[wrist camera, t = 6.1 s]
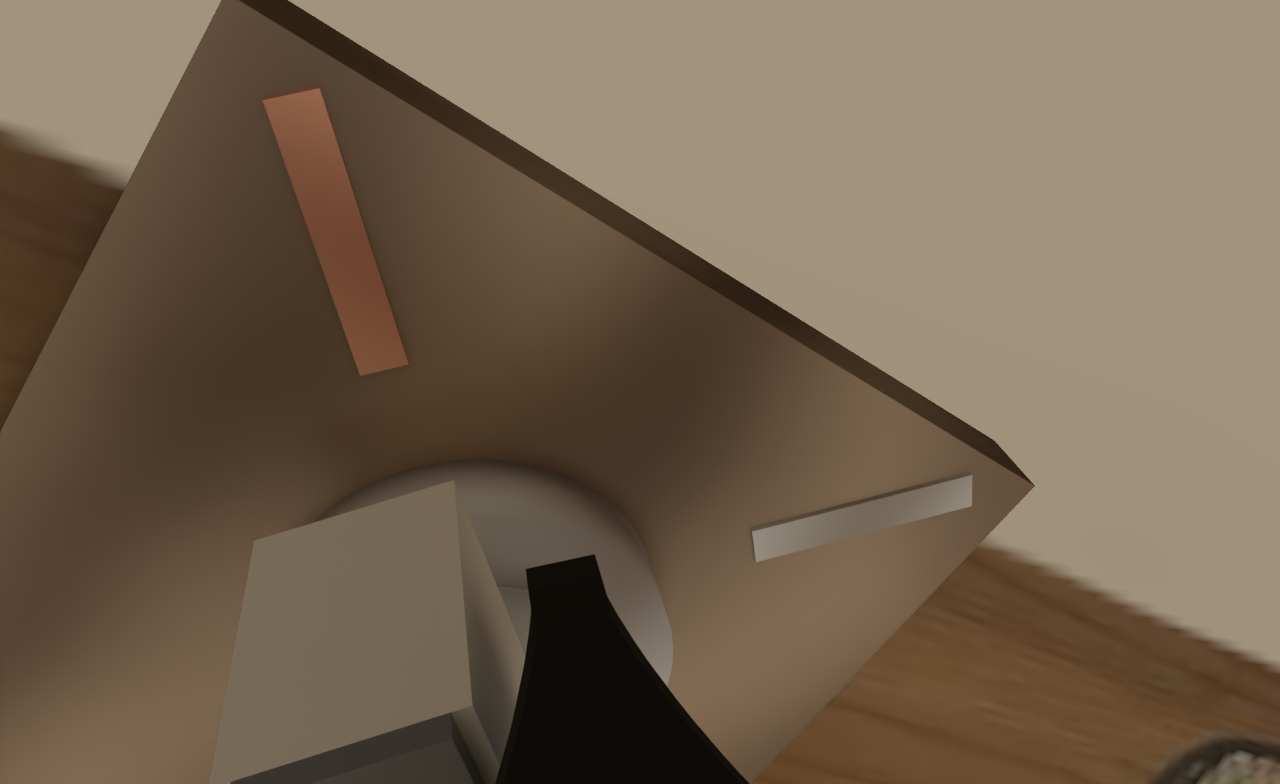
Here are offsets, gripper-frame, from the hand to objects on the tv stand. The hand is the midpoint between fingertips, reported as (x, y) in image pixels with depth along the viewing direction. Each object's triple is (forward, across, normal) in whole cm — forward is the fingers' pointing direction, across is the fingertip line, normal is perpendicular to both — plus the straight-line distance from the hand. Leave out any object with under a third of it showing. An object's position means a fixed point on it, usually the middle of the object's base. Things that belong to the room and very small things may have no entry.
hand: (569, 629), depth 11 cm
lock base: (+6, +2, +4) cm, 8 cm away
